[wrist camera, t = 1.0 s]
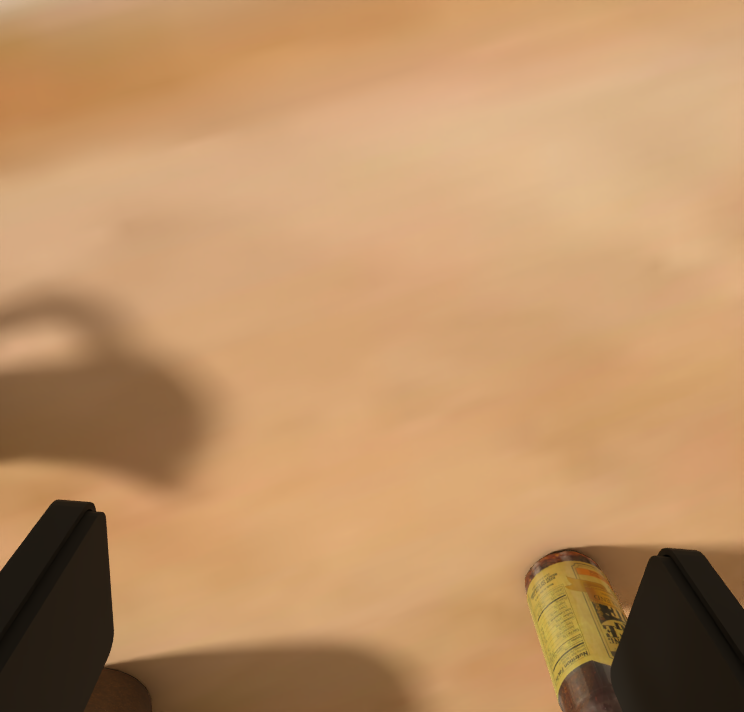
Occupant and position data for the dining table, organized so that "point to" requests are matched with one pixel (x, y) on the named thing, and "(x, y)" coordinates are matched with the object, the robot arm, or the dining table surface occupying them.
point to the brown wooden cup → (118, 694)
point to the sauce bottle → (576, 629)
